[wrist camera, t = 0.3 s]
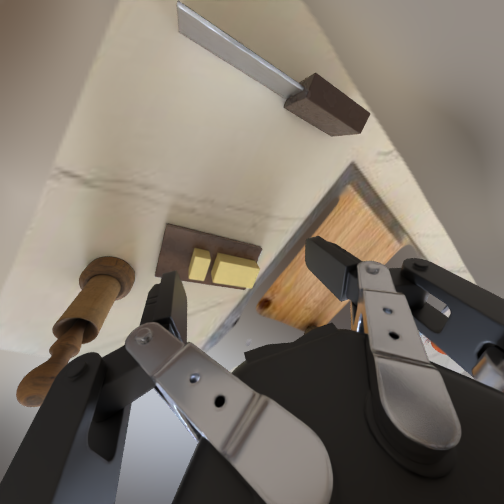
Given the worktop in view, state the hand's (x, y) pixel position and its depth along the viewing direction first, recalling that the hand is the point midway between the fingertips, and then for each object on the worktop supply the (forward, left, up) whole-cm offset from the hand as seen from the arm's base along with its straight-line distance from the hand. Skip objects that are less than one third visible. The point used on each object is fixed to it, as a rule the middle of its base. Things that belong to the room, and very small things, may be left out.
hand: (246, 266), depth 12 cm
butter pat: (+10, +1, -20) cm, 22 cm away
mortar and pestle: (+16, -11, -21) cm, 29 cm away
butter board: (+10, +3, -21) cm, 23 cm away
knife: (-16, +3, -21) cm, 26 cm away
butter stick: (+10, +7, -20) cm, 23 cm away
